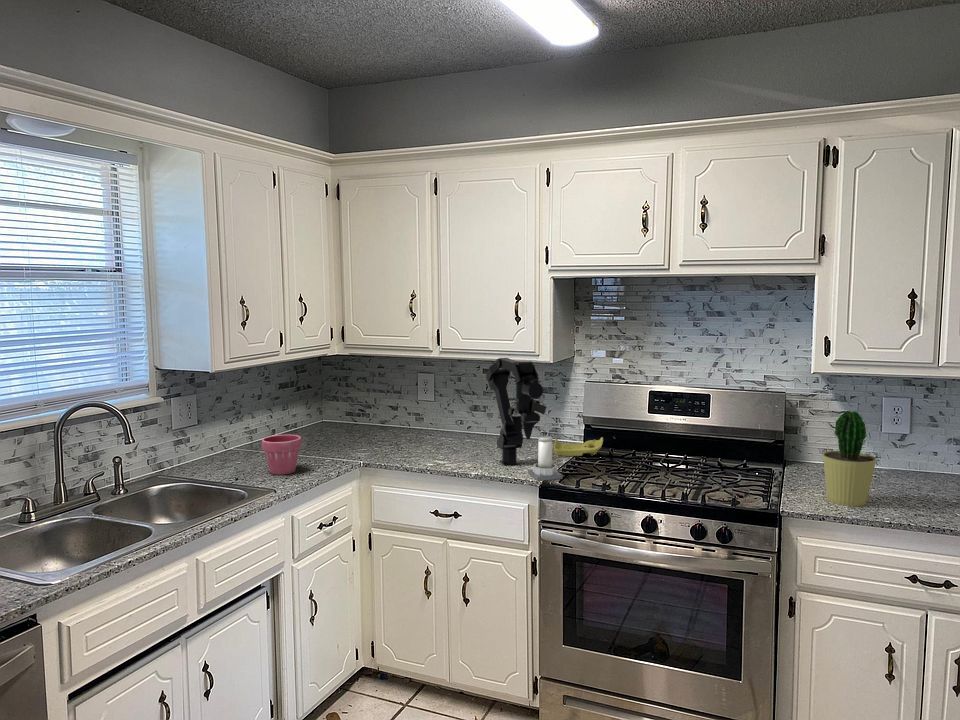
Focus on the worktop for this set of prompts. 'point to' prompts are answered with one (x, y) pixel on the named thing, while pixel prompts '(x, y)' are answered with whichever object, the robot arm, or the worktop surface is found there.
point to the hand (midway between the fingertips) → (523, 437)
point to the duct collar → (544, 473)
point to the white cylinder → (545, 451)
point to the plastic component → (577, 448)
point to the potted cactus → (848, 463)
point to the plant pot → (281, 452)
